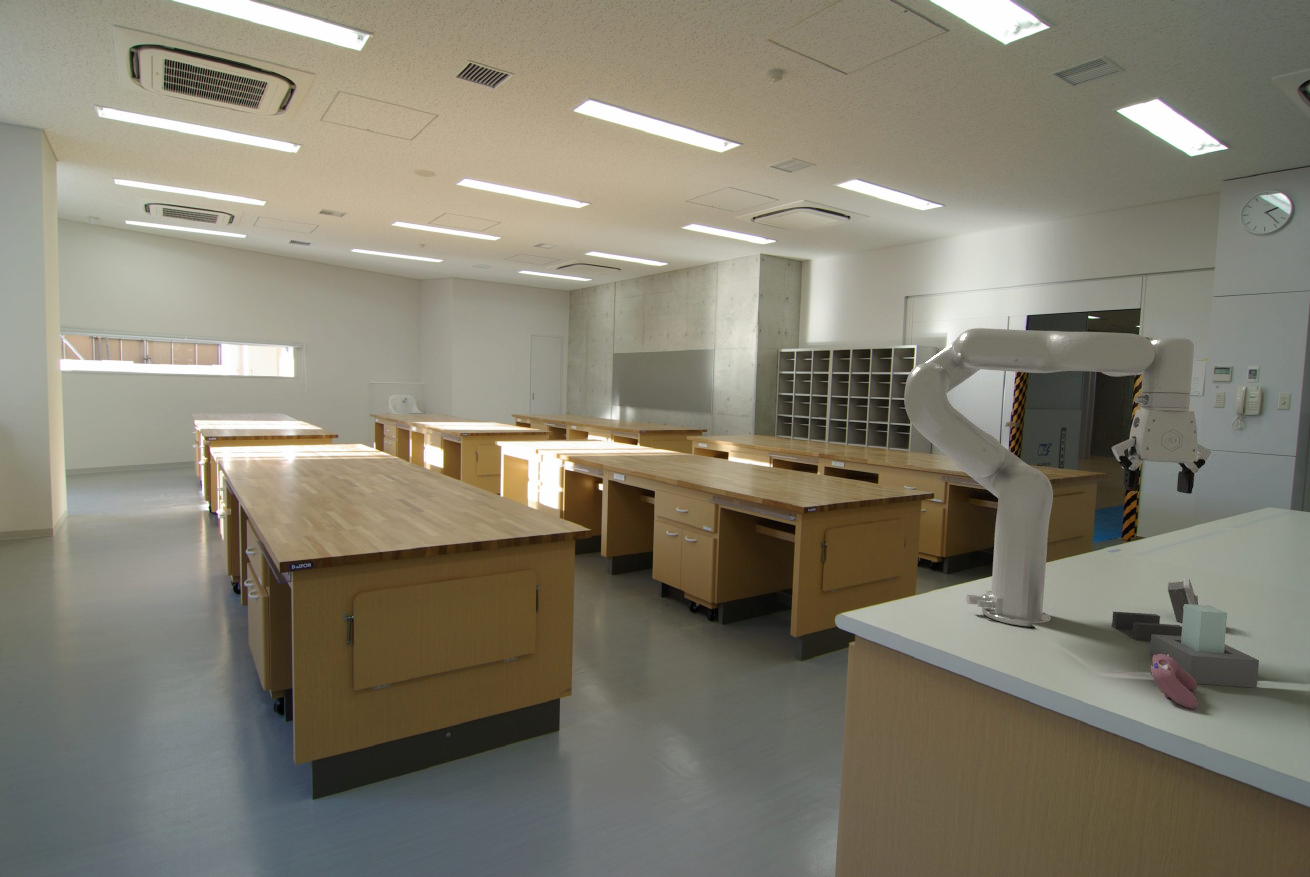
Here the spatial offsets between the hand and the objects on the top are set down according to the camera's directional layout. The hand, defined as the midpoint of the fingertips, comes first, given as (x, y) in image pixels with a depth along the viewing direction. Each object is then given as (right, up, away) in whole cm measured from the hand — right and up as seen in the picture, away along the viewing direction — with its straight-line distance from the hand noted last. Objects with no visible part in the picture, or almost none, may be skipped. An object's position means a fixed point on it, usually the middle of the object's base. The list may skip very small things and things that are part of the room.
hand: (1157, 491), depth 128 cm
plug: (-6, -28, -17) cm, 33 cm away
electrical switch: (+13, -29, +9) cm, 33 cm away
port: (-6, -29, -17) cm, 34 cm away
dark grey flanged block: (-3, -28, -1) cm, 29 cm away
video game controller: (-18, -30, -26) cm, 43 cm away
